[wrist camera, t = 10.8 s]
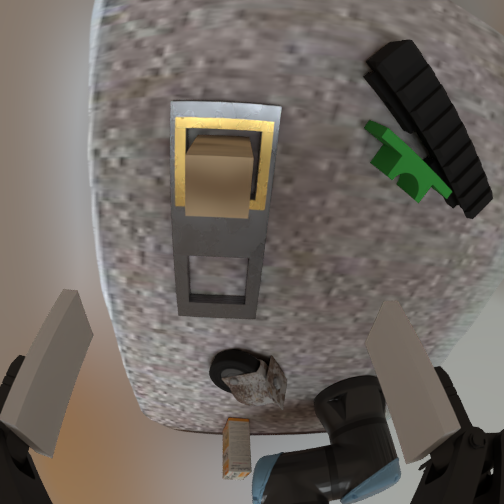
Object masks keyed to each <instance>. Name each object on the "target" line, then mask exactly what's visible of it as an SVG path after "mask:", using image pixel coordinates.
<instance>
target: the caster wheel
mask: <svg viewBox="0 0 504 504" xmlns="http://www.w3.org/2000/svg"><path fill="white" fill-rule="evenodd" d="M209 375H210V378H211V380H212V381H213V382H214V384H215V385H217V386H218V387H219V388H221V389H222V390H224V391H227V392H229V393H232V394H233V396H234V397H235V398H236V400H238V401H239V402H241V403H242V404H245V405H249V406H260V405H266V404H273V403H277V404H278V405H279V406H280V408H281V409H282V410H283V406H284V400H285V393H286V386H287V379H286V377H285V376H284V374H283V372H282V371H281V369H280V368H279V366H278V364H277V363H276V361H275V359H274V358H273V356H272V355H271V359H270V364H269V367H268V366H267V364H266V363H265V362H264V361H262V360H261V359H256V358H255V357H253V356H252V355H250V354H248V353H246V352H242V351H237V350H228V351H223V352H221V353H219V354H217V355H216V356H215V358H214V360H213V362H212V365H211V367H210V371H209Z"/></svg>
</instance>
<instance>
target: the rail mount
mask: <svg viewBox="0 0 504 504" xmlns="http://www.w3.org/2000/svg"><path fill="white" fill-rule="evenodd" d="M366 63H367V64H368V65H369V66H370V67H371V69H372V70H373V71H374V72H372V73H369V72H368V73H367V74H366V75H365V76H364V78H365V79H366V80H367V82H368V83H369V84H370V85H371V87H372V88H373V89H374V90H375V92H376V93H377V94H378V95H379V97H380V98H381V99H382V101H383V102H384V103H385V105H386V106H387V107H388V109H389V110H390V111H391V113H392V114H393V116H394V117H395V118H396V120H397V121H398V123H399V124H400V126H401V127H402V129H403V130H404V131H406V132H408V133H412V132H413V131H414V130H415V129H416V131H417V133H418V134H419V136H420V137H421V139H422V141H423V142H424V144H425V145H426V147H427V149H428V151H429V152H430V154H431V156H432V157H433V158H432V159H429V158H428V156H427V157H426V158H425V159H424V160H423V161H424V162H425V163H426V164H427V165H428V166H429V167H430V168H431V169H432V170H433V171H434V172H435V173H436V174H437V175H438V176H439V178H440V179H441V180H442V181H443V182H444V183H445V184H446V185H447V186H448V187H449V188H450V190H451V191H452V193H451V194H450V195H449V197H448V198H447V199H446V198H445V197H444V199H445V201H446V203H447V204H448V205H450V206H451V207H452V208H454V207H455V206H456V205H459V206H460V207H461V208H462V209H463V211H464V214H465V216H466V218H470V219H473V218H474V217H475V216H476V215H477V214H478V213H479V212H480V211H481V210H482V209H483V208H484V207H485V206H486V205H487V204H488V203H489V202H490V201H491V200H492V199H493V195H492V190H491V188H490V186H489V184H488V181H487V177H486V174H485V172H484V170H483V168H482V164H481V162H480V159H479V157H478V156H477V154H476V151H475V148H474V145H473V143H472V141H471V140H470V138H469V136H468V134H467V130H466V128H465V126H464V124H463V122H461V120H460V118H459V116H458V113H457V111H456V109H455V107H454V105H453V104H452V103H451V101H450V99H449V97H448V96H447V93H446V91H445V89H444V88H443V86H442V84H440V82H439V81H438V79H437V77H436V76H435V73H434V71H433V70H432V68H431V67H430V65H429V64H428V63H427V62H426V60H425V59H424V58H423V56H422V53H421V52H420V51H419V49H418V48H417V46H416V45H415V44H414V42H413V41H412V40H402V41H395V42H390V43H388V44H387V45H386V46H385V47H383V48H382V49H381V50H380V51H378V52H377V53H376V54H375V55H373V56H372V57H371V58H370V59H369V60H367V61H366Z"/></svg>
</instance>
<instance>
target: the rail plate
mask: <svg viewBox="0 0 504 504" xmlns="http://www.w3.org/2000/svg"><path fill="white" fill-rule="evenodd" d="M280 115H281V106H280V105H273V104H262V103H250V102H235V101H212V100H173V101H171V115H170V188H171V218H172V239H173V255H174V269H175V282H176V294H177V305H178V315H179V316H192V317H211V318H235V319H255V318H256V311H257V303H258V295H259V288H260V280H261V272H262V265H263V257H264V249H265V241H266V233H267V225H268V217H269V209H270V201H271V192H272V184H273V176H274V167H275V159H276V150H277V142H278V133H279V124H280ZM189 128H213V129H235V130H250V131H261V134H260V144H259V154H258V164H257V175H256V185H255V194H250V204H249V215H248V219H245V218H225V217H202V216H185V155H186V153H187V151H188V131H189ZM189 255H191V256H213V257H234V258H248V268H247V279H246V289H245V296H224V295H202V294H190V275H189Z"/></svg>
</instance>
